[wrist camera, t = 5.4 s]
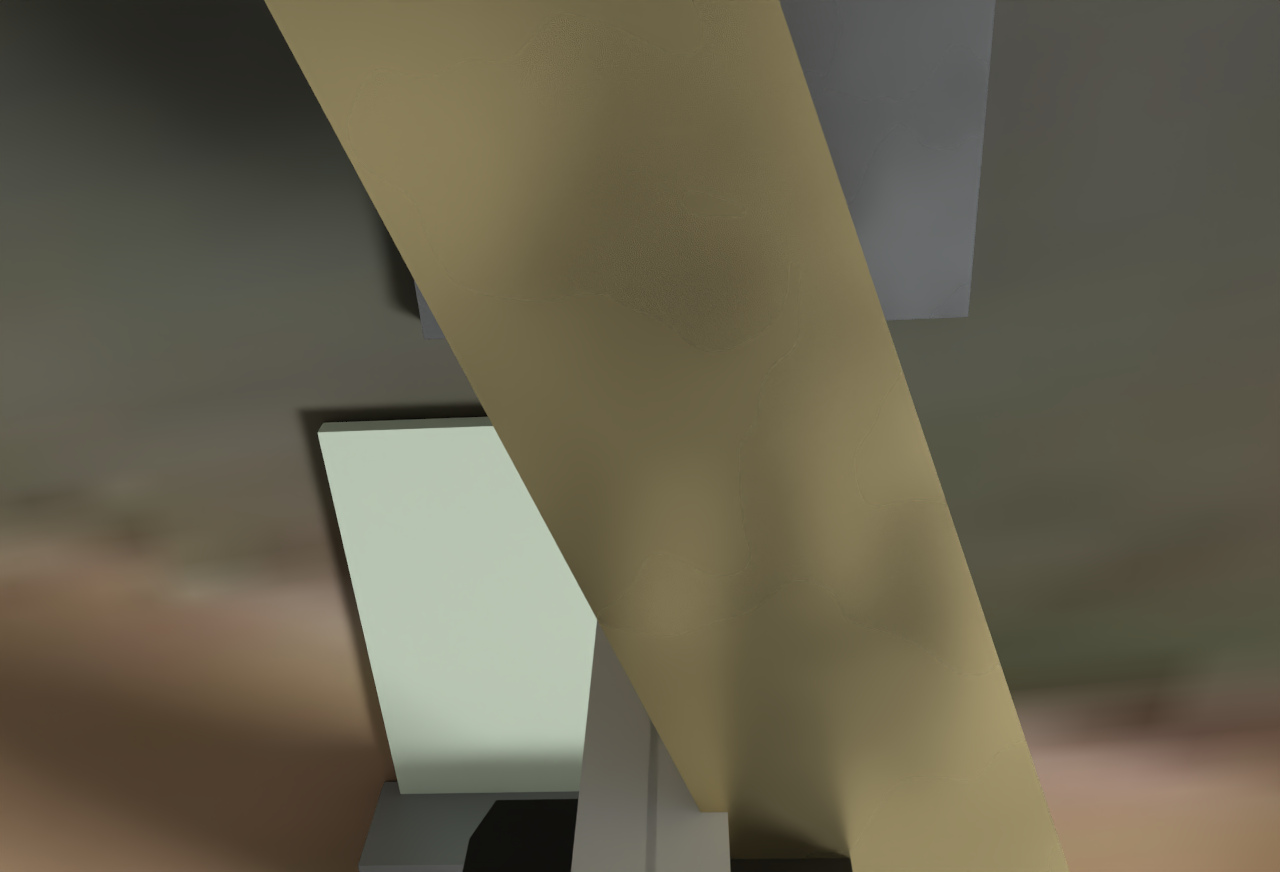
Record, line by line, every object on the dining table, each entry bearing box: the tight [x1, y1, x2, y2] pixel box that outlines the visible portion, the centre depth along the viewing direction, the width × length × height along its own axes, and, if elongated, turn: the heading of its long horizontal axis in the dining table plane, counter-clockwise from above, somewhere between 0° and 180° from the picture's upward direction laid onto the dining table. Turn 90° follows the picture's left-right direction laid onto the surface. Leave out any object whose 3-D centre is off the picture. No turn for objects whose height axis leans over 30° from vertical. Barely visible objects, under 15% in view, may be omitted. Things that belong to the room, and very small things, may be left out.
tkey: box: [264, 0, 1069, 872], centre depth 13 cm, size 15×3×11 cm, turn 22°
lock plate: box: [414, 0, 995, 339], centre depth 19 cm, size 10×10×1 cm
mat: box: [317, 417, 597, 794], centre depth 25 cm, size 10×10×1 cm
